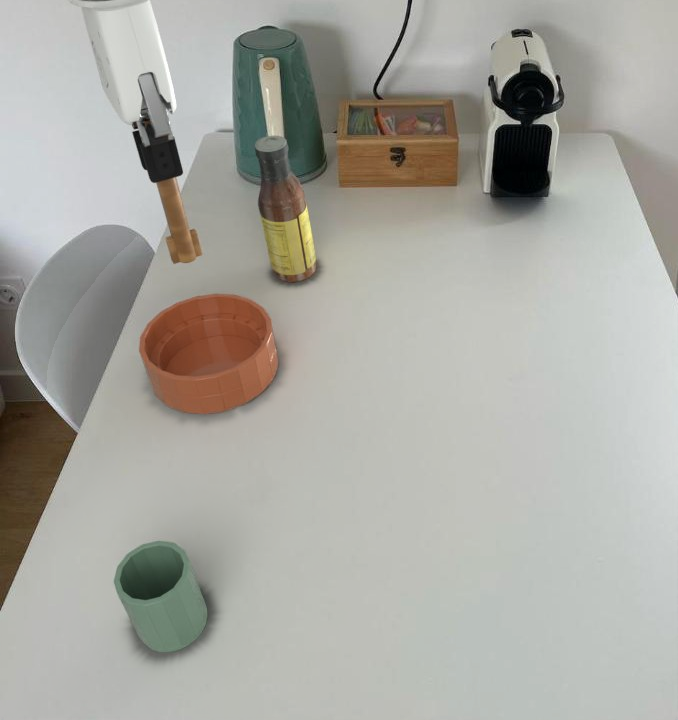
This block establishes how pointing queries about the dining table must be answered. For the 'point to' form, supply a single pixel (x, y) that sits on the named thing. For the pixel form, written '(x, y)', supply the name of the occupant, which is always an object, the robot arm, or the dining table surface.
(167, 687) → the dining table surface
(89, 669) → the dining table surface
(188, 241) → the wooden dowel rod
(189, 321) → the bowl
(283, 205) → the sauce bottle
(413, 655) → the dining table surface
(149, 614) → the crock
